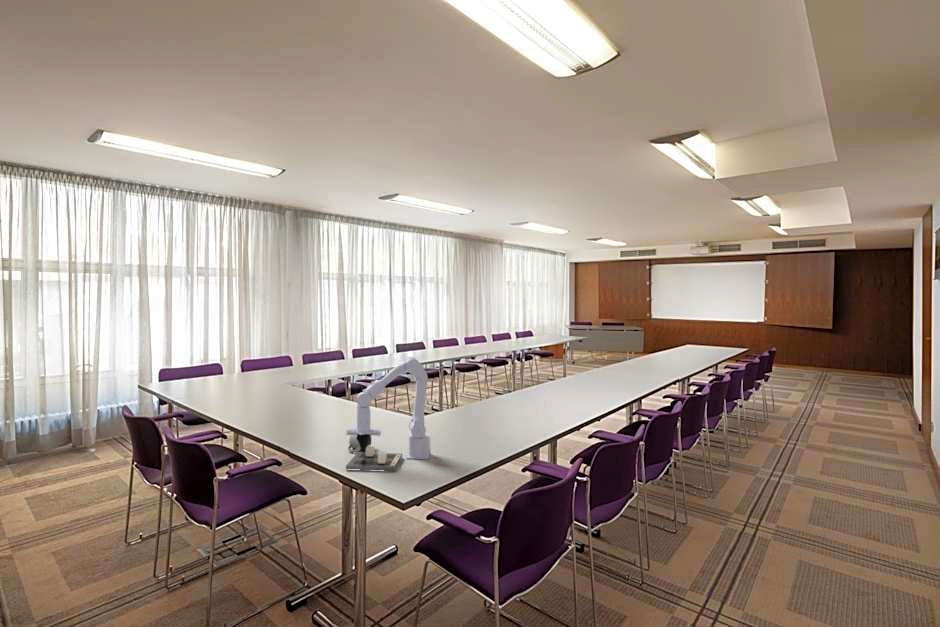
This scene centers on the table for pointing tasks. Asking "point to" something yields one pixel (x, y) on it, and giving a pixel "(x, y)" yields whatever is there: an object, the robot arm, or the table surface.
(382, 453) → the switch tab
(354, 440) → the ceramic mug
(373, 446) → the switch tab
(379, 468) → the switch panel
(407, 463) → the table surface
